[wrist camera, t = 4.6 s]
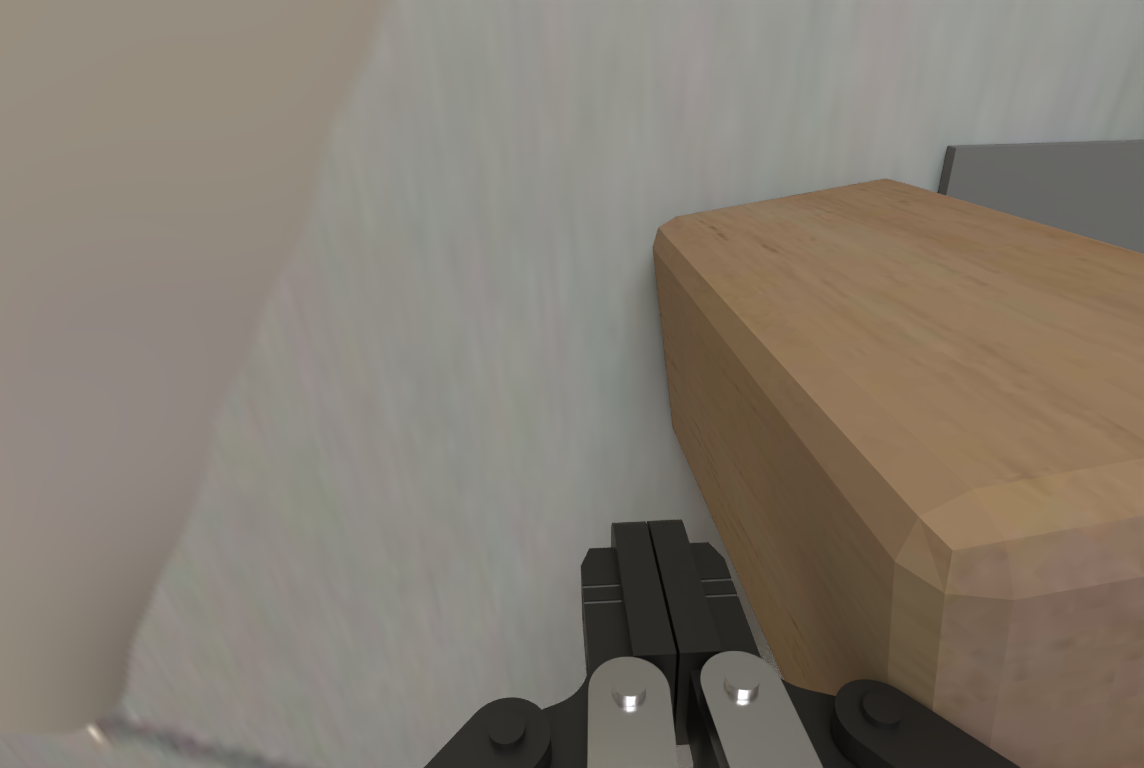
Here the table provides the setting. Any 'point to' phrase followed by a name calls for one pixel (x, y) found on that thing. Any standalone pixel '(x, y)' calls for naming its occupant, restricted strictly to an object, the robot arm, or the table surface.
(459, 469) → the table surface
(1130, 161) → the mat
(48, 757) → the table surface
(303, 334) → the table surface
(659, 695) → the robot arm
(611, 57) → the table surface
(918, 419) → the block
